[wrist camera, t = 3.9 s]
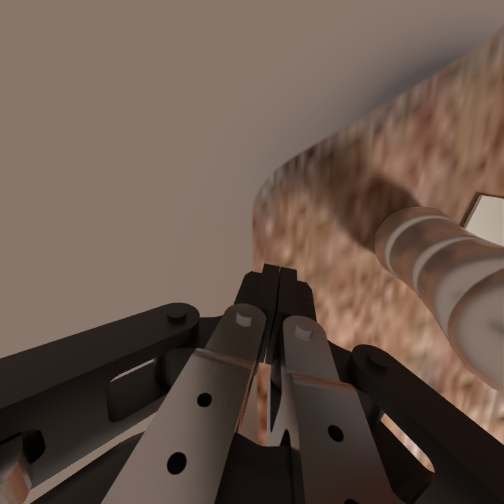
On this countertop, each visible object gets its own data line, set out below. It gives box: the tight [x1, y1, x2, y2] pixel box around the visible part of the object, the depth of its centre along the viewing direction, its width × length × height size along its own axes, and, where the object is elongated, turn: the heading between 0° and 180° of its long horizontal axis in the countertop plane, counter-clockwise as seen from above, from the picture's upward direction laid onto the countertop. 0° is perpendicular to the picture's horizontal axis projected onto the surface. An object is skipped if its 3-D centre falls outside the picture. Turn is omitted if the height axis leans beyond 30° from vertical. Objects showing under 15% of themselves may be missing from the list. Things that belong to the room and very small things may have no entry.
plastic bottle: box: [374, 207, 504, 394], centre depth 15 cm, size 6×7×20 cm
